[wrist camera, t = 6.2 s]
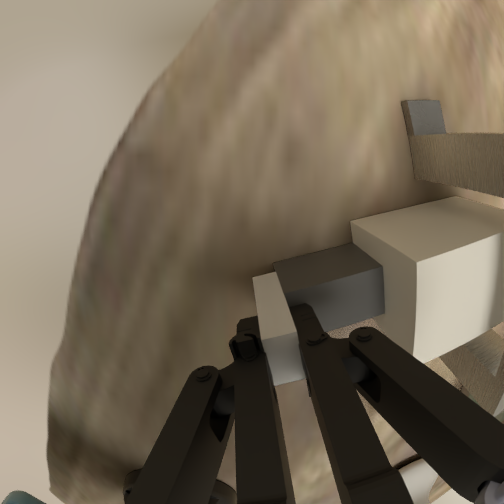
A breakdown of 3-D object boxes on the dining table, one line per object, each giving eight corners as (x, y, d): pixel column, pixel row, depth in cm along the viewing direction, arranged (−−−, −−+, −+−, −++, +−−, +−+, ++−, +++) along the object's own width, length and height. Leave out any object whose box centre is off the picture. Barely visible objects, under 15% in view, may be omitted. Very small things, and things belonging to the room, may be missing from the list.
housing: (415, 354, 22) (480, 439, 12) (401, 102, 16) (530, 77, 5) (440, 343, 22) (508, 419, 12) (433, 101, 16) (556, 86, 5)
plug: (286, 321, 20) (310, 403, 13) (267, 241, 18) (289, 298, 11) (461, 265, 20) (525, 306, 12) (460, 194, 18) (537, 217, 11)
